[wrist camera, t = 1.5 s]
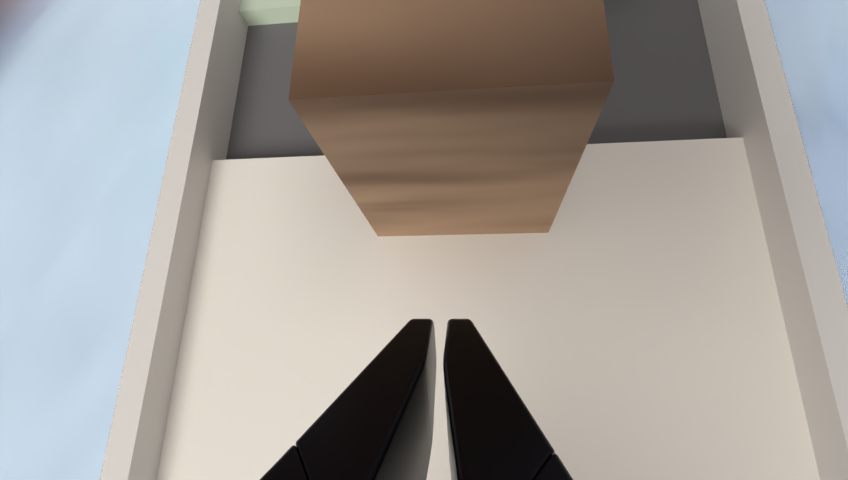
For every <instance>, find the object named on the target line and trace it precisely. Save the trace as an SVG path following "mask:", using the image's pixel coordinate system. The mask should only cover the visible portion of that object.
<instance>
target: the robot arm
mask: <svg viewBox="0 0 848 480" xmlns="http://www.w3.org/2000/svg"><path fill="white" fill-rule="evenodd" d="M443 371H444V386H445V402H446V417H447V432H448V448H449V461H450V471H451V480H573V478H572V477H571V475H570V474H569V472H568V470H567V469H566V467H565V466H564V464H563V463H562V461H561V459H560V458H559V456H558V455H557V454H555V451H554V449H553V447H552V446H551V444H550V443H549V441H548V440H547V438H546V436H545V435H544V433H543V432H542V430H541V429H540V427H539V425H538V424H537V422H536V421H535V419H534V418H533V416H532V415H531V413H530V411H529V410H528V408H527V407H526V405H525V404H524V402H523V400H522V399H521V397H520V396H519V394H518V393H517V391H516V389H515V388H514V386H513V385H512V383H511V382H510V380H509V379H508V377H507V375H506V374H505V372H504V371H503V369H502V368H501V366H500V364H499V363H498V361H497V360H496V358H495V357H494V355H493V353H492V352H491V350H490V349H489V347H488V346H487V344H486V343H485V341H484V339H483V338H482V336H481V335H480V333H479V332H478V330H477V328H476V327H475V325H474V324H473V322H472V321H471V320H470V319H450V320H449V321H448V323H447V331H446V339H445V347H444V356H443ZM435 385H436V344H435V330H434V322H433V320H431V319H411V320H410V321H408V323H407V324H406V325H405V326H404V327H403V328H402V329H401V330H400V331H399V332H398V333H397V334H396V335H395V336H394V338H393V339H392V340H391V341H390V342H389V343H388V344H387V345H386V346H385V347H384V348H383V349H382V350H381V351H380V352H379V354H378V355H377V356H376V357H375V358H374V359H373V360H372V361H371V362H370V363H369V364H368V365H367V366H366V367H365V369H364V370H363V371H362V372H361V373H360V374H359V375H358V376H357V377H356V378H355V379H354V380H353V381H352V382H351V383H350V385H349V386H348V387H347V388H346V389H345V390H344V391H343V392H342V393H341V394H340V395H339V396H338V397H337V398H336V399H335V401H334V402H333V403H332V404H331V405H330V406H329V407H328V408H327V409H326V410H325V411H324V412H323V413H322V414H321V416H320V417H319V418H318V419H317V420H316V421H315V422H314V423H313V424H312V425H311V426H310V427H309V428H308V429H307V430H306V432H305V433H304V434H303V435H302V436H301V437H300V438H299V439H298V440H297V441H296V446H295V445H293V446H291V447H290V448H289V449H288V450H287V452H286V453H285V454H284V455H283V456H282V457H281V458H280V459H279V460H278V461H277V462H276V463H275V464H274V465H273V466H272V467H271V468H270V469H269V470H268V471H267V472H266V473H265V474H264V475H263V476H262V478H261V479H260V480H426V479H427V473H428V467H429V461H430V455H431V448H432V440H433V425H434V405H435Z"/></svg>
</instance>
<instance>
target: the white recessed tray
mask: <svg viewBox="0 0 848 480" xmlns="http://www.w3.org/2000/svg"><path fill="white" fill-rule="evenodd" d="M300 2H301V0H200V5H199V9H198V14H197V19H196V24H195V28H194V33H193V38H192V43H191V47H190V52H189V57H188V62H187V66H186V71H185V76H184V81H183V86H182V90H181V95H180V100H179V105H178V109H177V114H176V119H175V124H174V128H173V133H172V138H171V143H170V147H169V152H168V157H167V162H166V167H165V171H164V176H163V181H162V186H161V190H160V195H159V200H158V205H157V209H156V214H155V219H154V224H153V228H152V233H151V238H150V243H149V248H148V252H147V257H146V262H145V267H144V271H143V276H142V281H141V286H140V290H139V295H138V300H137V305H136V310H135V314H134V319H133V324H132V329H131V333H130V338H129V343H128V348H127V352H126V357H125V362H124V367H123V371H122V376H121V381H120V386H119V391H118V395H117V400H116V405H115V410H114V414H113V419H112V424H111V429H110V433H109V438H108V443H107V448H106V452H105V457H104V462H103V467H102V472H101V476H100V480H260V479H261V478H262V476H263V475H264V474H265V473H266V472H267V471H268V470H269V469H270V468H271V467H272V466H273V465H274V464H275V463H276V462H277V461H278V460H279V459H280V458H281V457H282V456H283V455H284V454H285V453H286V452H287V450H288V449H289V448H290V447H291V446H293V445H295V446H296V441H297V440H298V439H299V438H300V437H301V436H302V435H303V434H304V433H305V432H306V430H307V429H308V428H309V427H310V426H311V425H312V424H313V423H314V422H315V421H316V420H317V419H318V418H319V417H320V416H321V414H322V413H323V412H324V411H325V410H326V409H327V408H328V407H329V406H330V405H331V404H332V403H333V402H334V401H335V399H336V398H337V397H338V396H339V395H340V394H341V393H342V392H343V391H344V390H345V389H346V388H347V387H348V386H349V385H350V383H351V382H352V381H353V380H354V379H355V378H356V377H357V376H358V375H359V374H360V373H361V372H362V371H363V370H364V369H365V367H366V366H367V365H368V364H369V363H370V362H371V361H372V360H373V359H374V358H375V357H376V356H377V355H378V354H379V352H380V351H381V350H382V349H383V348H384V347H385V346H386V345H387V344H388V343H389V342H390V341H391V340H392V339H393V338H394V336H395V335H396V334H397V333H398V332H399V331H400V330H401V329H402V328H403V327H404V326H405V325H406V324H407V323H408V321H410V320H411V319H431V320H433V322H434V330H435V344H436V385H435V405H434V425H433V440H432V448H431V455H430V461H429V467H428V473H427V479H426V480H451V471H450V461H449V448H448V432H447V417H446V402H445V386H444V371H443V356H444V347H445V339H446V331H447V323H448V321H449V320H450V319H470V320H471V321H472V322H473V324H474V325H475V327H476V328H477V330H478V332H479V333H480V335H481V336H482V338H483V339H484V341H485V343H486V344H487V346H488V347H489V349H490V350H491V352H492V353H493V355H494V357H495V358H496V360H497V361H498V363H499V364H500V366H501V368H502V369H503V371H504V372H505V374H506V375H507V377H508V379H509V380H510V382H511V383H512V385H513V386H514V388H515V389H516V391H517V393H518V394H519V396H520V397H521V399H522V400H523V402H524V404H525V405H526V407H527V408H528V410H529V411H530V413H531V415H532V416H533V418H534V419H535V421H536V422H537V424H538V425H539V427H540V429H541V430H542V432H543V433H544V435H545V436H546V438H547V440H548V441H549V443H550V444H551V446H552V447H553V449H554V451H555V454H557V455H558V456H559V458H560V459H561V461H562V463H563V464H564V466H565V467H566V469H567V470H568V472H569V474H570V475H571V477H572V478H573V480H848V307H847V303H846V299H845V296H844V292H843V288H842V285H841V281H840V277H839V274H838V270H837V266H836V262H835V259H834V255H833V251H832V248H831V244H830V240H829V237H828V233H827V229H826V226H825V222H824V218H823V215H822V211H821V207H820V203H819V200H818V196H817V192H816V189H815V185H814V181H813V178H812V174H811V170H810V167H809V163H808V159H807V156H806V152H805V148H804V144H803V141H802V137H801V133H800V130H799V126H798V122H797V119H796V115H795V111H794V108H793V104H792V100H791V97H790V93H789V89H788V85H787V82H786V78H785V74H784V71H783V67H782V63H781V60H780V56H779V52H778V49H777V45H776V41H775V38H774V34H773V30H772V26H771V23H770V19H769V15H768V12H767V8H766V4H765V1H764V0H604V8H605V15H606V23H607V30H608V38H609V45H610V53H611V60H612V68H613V75H614V83H613V85H612V87H611V90H610V92H609V94H608V97H607V99H606V101H605V104H604V106H603V108H602V110H601V113H600V115H599V117H598V120H597V122H596V124H595V127H594V129H593V131H592V133H591V136H590V138H589V140H588V143H587V145H586V147H585V150H584V152H583V154H582V156H581V159H580V161H579V163H578V166H577V168H576V170H575V173H574V175H573V177H572V179H571V182H570V184H569V186H568V189H567V191H566V193H565V196H564V198H563V200H562V202H561V205H560V207H559V209H558V212H557V214H556V216H555V219H554V221H553V223H552V225H551V228H550V230H549V232H548V233H511V234H466V235H421V236H377V234H376V233H375V231H374V230H373V228H372V227H371V225H370V224H369V222H368V220H367V219H366V217H365V216H364V214H363V213H362V211H361V210H360V208H359V207H358V205H357V204H356V202H355V201H354V199H353V198H352V196H351V195H350V193H349V192H348V190H347V188H346V187H345V185H344V184H343V182H342V181H341V179H340V178H339V176H338V175H337V173H336V172H335V170H334V169H333V167H332V166H331V164H330V163H329V161H328V160H327V158H326V157H325V155H324V153H323V152H322V150H321V149H320V147H319V146H318V144H317V143H316V141H315V140H314V138H313V137H312V135H311V134H310V132H309V131H308V129H307V128H306V126H305V125H304V123H303V121H302V120H301V118H300V117H299V115H298V114H297V112H296V111H295V109H294V108H293V106H292V105H291V103H290V102H289V100H288V98H289V90H290V82H291V74H292V66H293V58H294V50H295V42H296V34H297V26H298V18H299V10H300Z"/></svg>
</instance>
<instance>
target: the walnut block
mask: <svg viewBox="0 0 848 480" xmlns="http://www.w3.org/2000/svg"><path fill="white" fill-rule="evenodd" d="M613 83H614V75H613V68H612V60H611V53H610V45H609V38H608V30H607V23H606V15H605V8H604V0H301V2H300V10H299V18H298V26H297V34H296V42H295V50H294V58H293V66H292V74H291V82H290V90H289V98H288V100H289V102H290V103H291V105H292V106H293V108H294V109H295V111H296V112H297V114H298V115H299V117H300V118H301V120H302V121H303V123H304V125H305V126H306V128H307V129H308V131H309V132H310V134H311V135H312V137H313V138H314V140H315V141H316V143H317V144H318V146H319V147H320V149H321V150H322V152H323V153H324V155H325V157H326V158H327V160H328V161H329V163H330V164H331V166H332V167H333V169H334V170H335V172H336V173H337V175H338V176H339V178H340V179H341V181H342V182H343V184H344V185H345V187H346V188H347V190H348V192H349V193H350V195H351V196H352V198H353V199H354V201H355V202H356V204H357V205H358V207H359V208H360V210H361V211H362V213H363V214H364V216H365V217H366V219H367V220H368V222H369V224H370V225H371V227H372V228H373V230H374V231H375V233H376V234H377V236H421V235H466V234H511V233H548V232H549V230H550V228H551V225H552V223H553V221H554V219H555V216H556V214H557V212H558V209H559V207H560V205H561V202H562V200H563V198H564V196H565V193H566V191H567V189H568V186H569V184H570V182H571V179H572V177H573V175H574V173H575V170H576V168H577V166H578V163H579V161H580V159H581V156H582V154H583V152H584V150H585V147H586V145H587V143H588V140H589V138H590V136H591V133H592V131H593V129H594V127H595V124H596V122H597V120H598V117H599V115H600V113H601V110H602V108H603V106H604V104H605V101H606V99H607V97H608V94H609V92H610V90H611V87H612V85H613Z"/></svg>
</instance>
